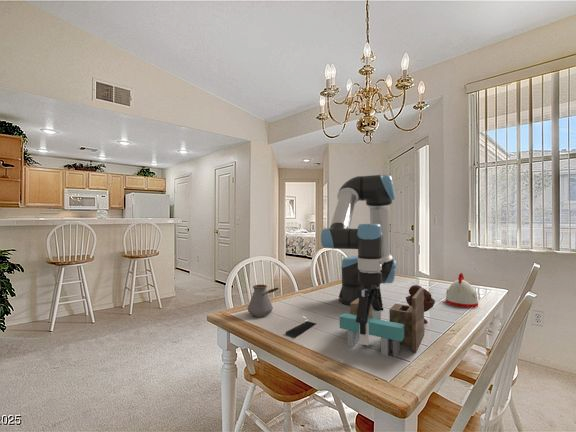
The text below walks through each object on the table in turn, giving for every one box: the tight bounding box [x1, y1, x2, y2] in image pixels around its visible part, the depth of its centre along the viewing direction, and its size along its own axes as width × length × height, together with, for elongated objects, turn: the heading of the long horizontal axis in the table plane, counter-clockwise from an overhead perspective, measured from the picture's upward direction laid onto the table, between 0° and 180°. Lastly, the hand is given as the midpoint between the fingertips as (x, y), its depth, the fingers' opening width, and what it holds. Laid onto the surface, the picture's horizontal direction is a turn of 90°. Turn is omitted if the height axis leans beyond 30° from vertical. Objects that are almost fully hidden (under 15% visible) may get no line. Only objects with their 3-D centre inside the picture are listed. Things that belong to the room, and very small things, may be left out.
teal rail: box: [339, 312, 404, 358], centre depth 94 cm, size 20×4×9 cm, turn 56°
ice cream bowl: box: [405, 284, 436, 325], centre depth 120 cm, size 11×11×15 cm
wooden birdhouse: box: [389, 287, 425, 354], centre depth 99 cm, size 9×16×18 cm, turn 146°
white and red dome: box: [445, 272, 479, 309], centre depth 144 cm, size 14×14×15 cm
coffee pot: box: [247, 284, 280, 318], centre depth 127 cm, size 21×12×15 cm, turn 35°
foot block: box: [349, 298, 374, 318], centre depth 108 cm, size 6×8×12 cm
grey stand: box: [347, 330, 393, 357], centre depth 94 cm, size 13×5×6 cm, turn 56°
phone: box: [285, 321, 317, 339], centre depth 111 cm, size 8×1×15 cm
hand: (370, 336), depth 94 cm, fingers open, 12 cm apart
